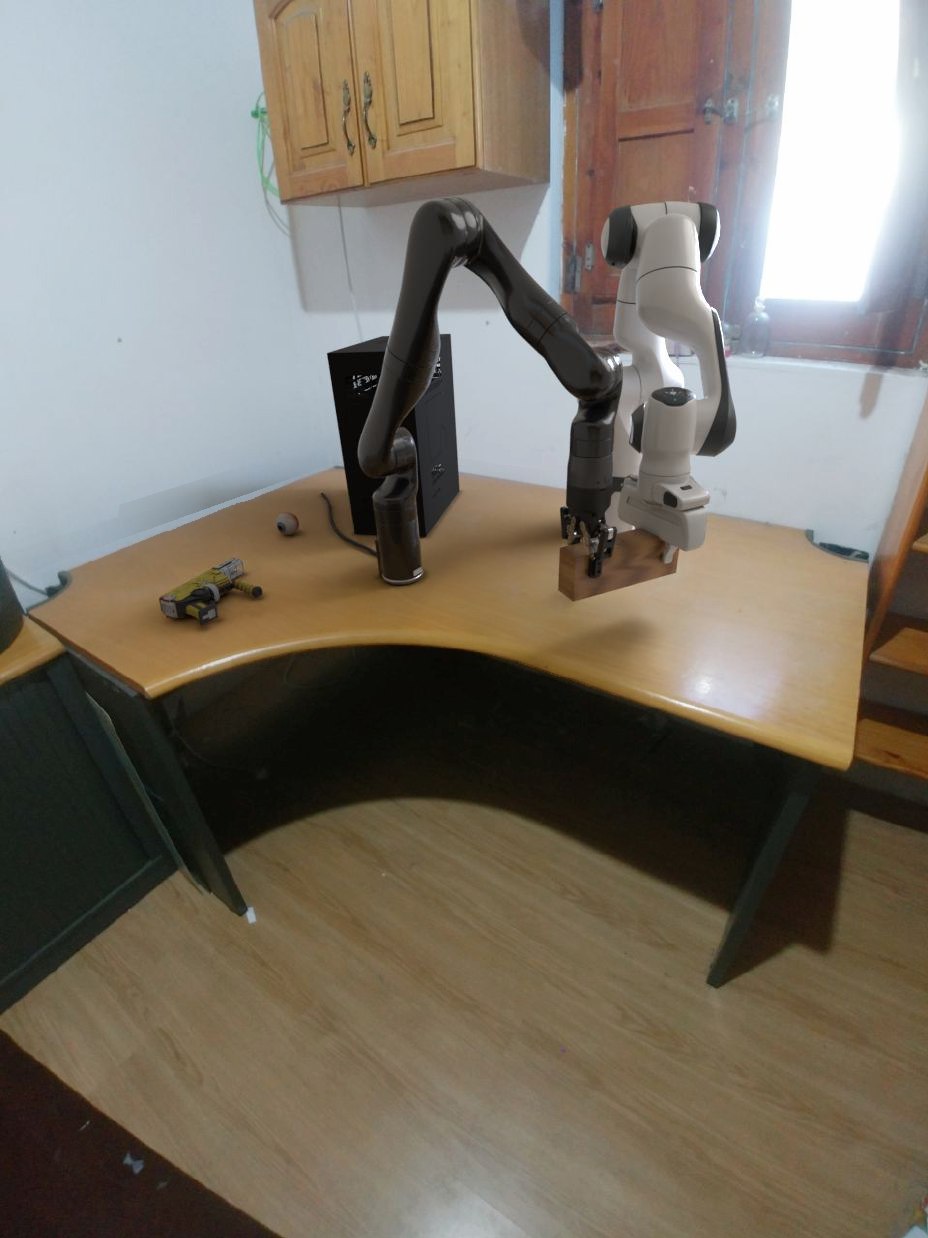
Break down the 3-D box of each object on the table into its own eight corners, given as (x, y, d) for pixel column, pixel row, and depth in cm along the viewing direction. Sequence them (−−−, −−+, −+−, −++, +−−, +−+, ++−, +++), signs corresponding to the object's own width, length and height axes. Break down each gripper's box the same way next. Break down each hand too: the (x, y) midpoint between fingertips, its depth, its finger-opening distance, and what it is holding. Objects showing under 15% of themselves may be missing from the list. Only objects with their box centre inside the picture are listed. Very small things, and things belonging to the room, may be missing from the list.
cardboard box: (426, 536, 158) (409, 350, 136) (354, 533, 163) (326, 352, 140) (459, 490, 190) (450, 333, 167) (398, 489, 194) (381, 336, 172)
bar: (658, 563, 120) (663, 522, 116) (675, 572, 116) (682, 530, 112) (557, 590, 112) (559, 547, 108) (573, 601, 108) (575, 557, 104)
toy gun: (284, 566, 139) (229, 555, 143) (214, 612, 119) (152, 597, 123) (286, 584, 141) (232, 573, 145) (217, 632, 121) (157, 617, 125)
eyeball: (273, 537, 164) (268, 516, 161) (287, 528, 169) (282, 508, 166) (291, 539, 161) (286, 518, 158) (305, 530, 166) (301, 510, 163)
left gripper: (547, 472, 105) (545, 560, 114) (596, 495, 94) (590, 591, 102) (583, 465, 108) (579, 552, 116) (635, 486, 96) (626, 581, 105)
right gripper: (612, 473, 115) (607, 540, 122) (688, 504, 99) (678, 579, 106) (639, 468, 117) (632, 534, 124) (718, 497, 101) (705, 571, 108)
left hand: (584, 570), depth 109 cm, fingers open, 5 cm apart
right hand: (654, 555), depth 115 cm, fingers closed on bar, 5 cm apart
